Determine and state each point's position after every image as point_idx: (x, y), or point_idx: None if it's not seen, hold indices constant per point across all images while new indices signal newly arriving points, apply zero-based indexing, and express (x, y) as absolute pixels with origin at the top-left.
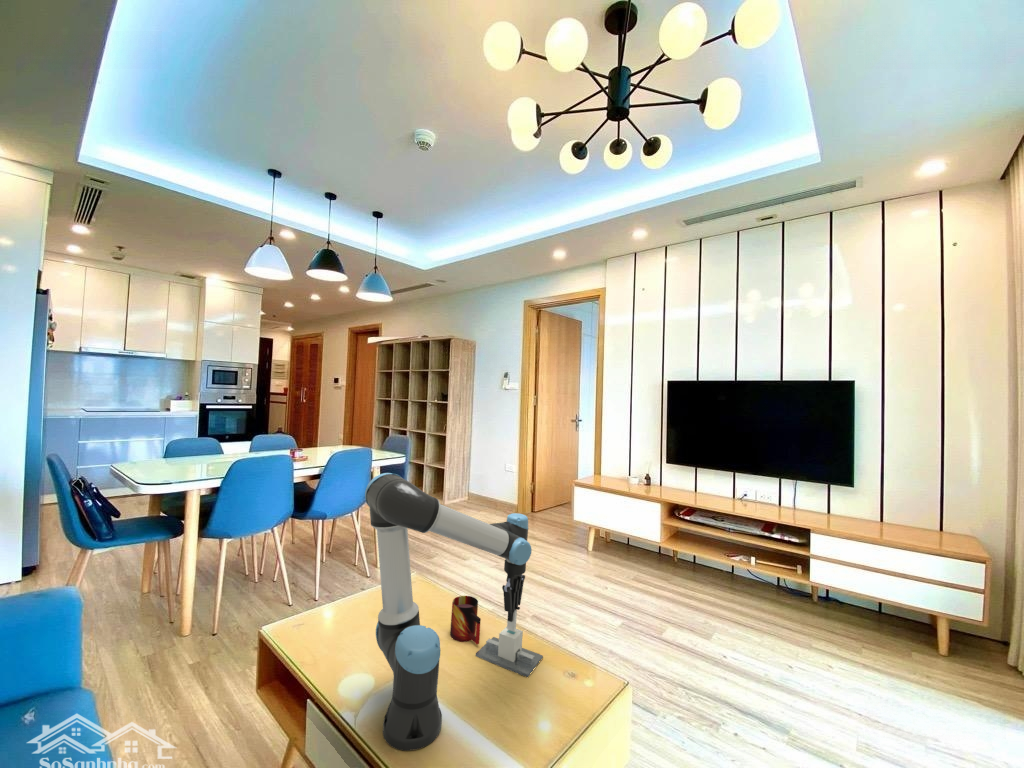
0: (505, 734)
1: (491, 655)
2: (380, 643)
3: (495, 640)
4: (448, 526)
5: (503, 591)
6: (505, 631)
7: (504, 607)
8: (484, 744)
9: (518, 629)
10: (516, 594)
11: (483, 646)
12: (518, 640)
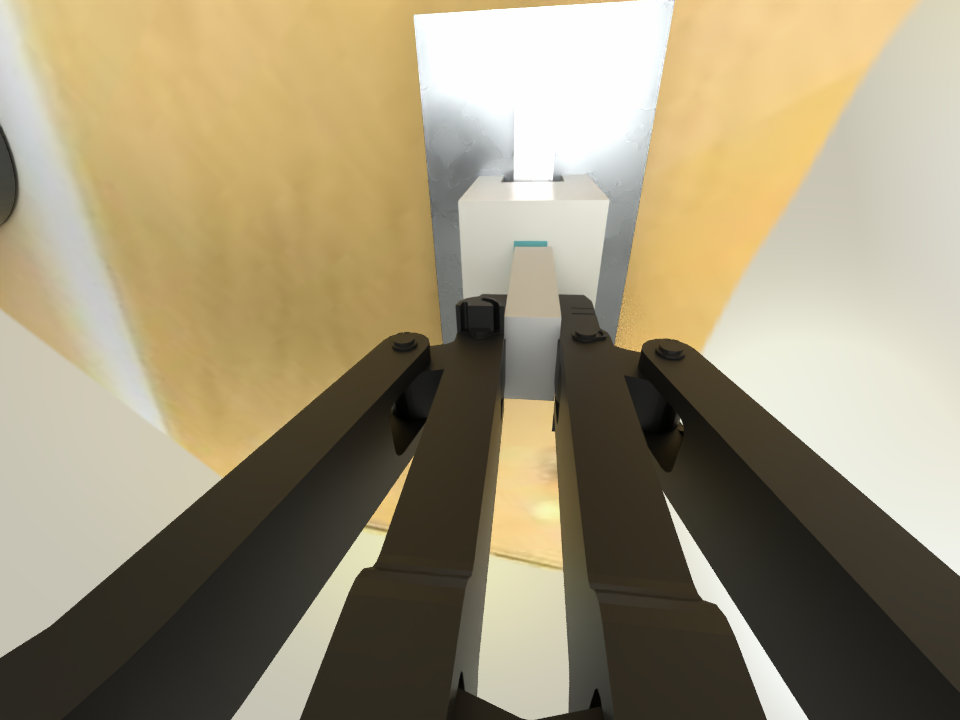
0: (195, 394)
1: (458, 137)
2: None
3: (631, 50)
4: None
5: (35, 640)
6: (512, 230)
7: (361, 361)
8: (122, 364)
9: (595, 301)
10: (563, 562)
11: (512, 13)
12: None
